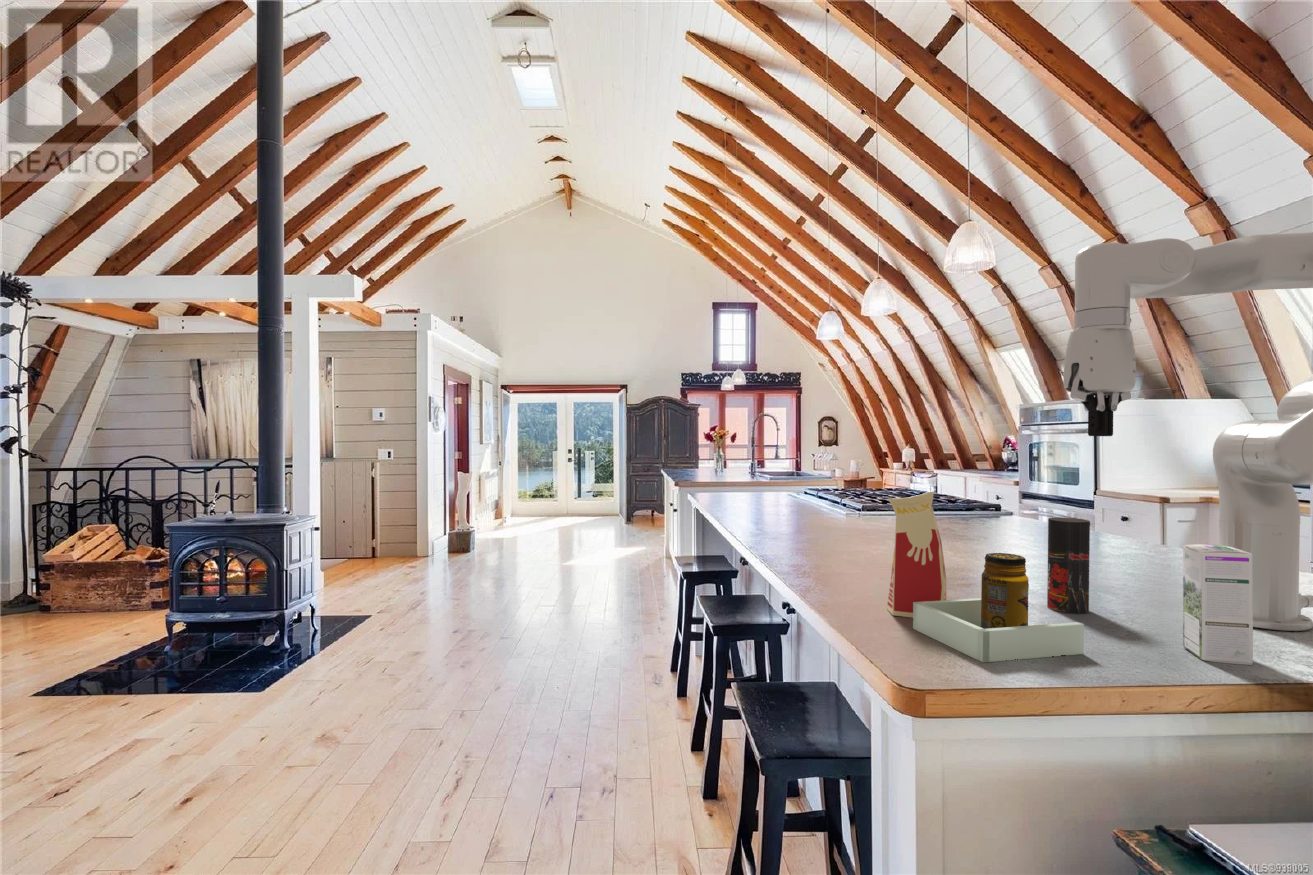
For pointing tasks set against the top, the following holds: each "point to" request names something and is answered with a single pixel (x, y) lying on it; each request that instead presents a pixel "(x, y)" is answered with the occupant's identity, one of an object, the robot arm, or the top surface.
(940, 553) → the milk carton
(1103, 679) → the top surface
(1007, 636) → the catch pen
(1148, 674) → the top surface
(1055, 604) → the deodorant
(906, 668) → the top surface
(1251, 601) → the syrup box
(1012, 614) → the condiment
